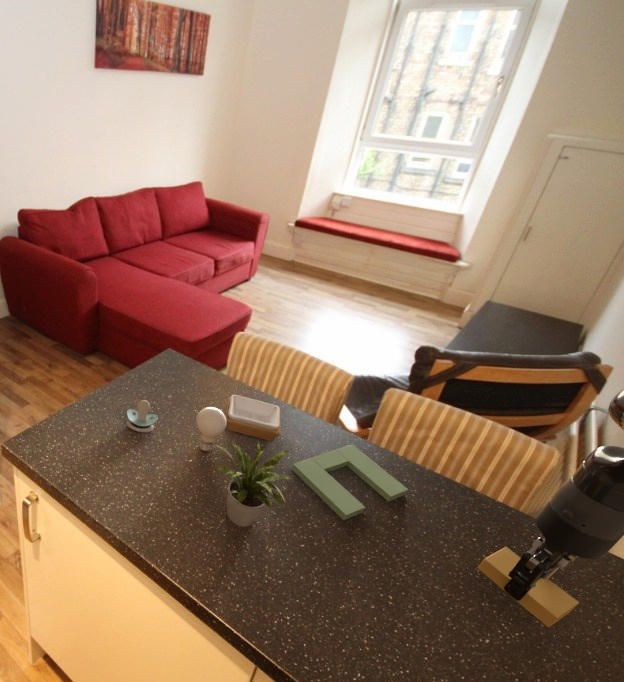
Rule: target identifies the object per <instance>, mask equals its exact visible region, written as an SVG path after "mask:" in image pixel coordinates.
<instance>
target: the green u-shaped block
mask: <svg viewBox="0 0 624 682" xmlns="http://www.w3.org/2000/svg"><path fill="white" fill-rule="evenodd" d="M344 467H347V468H348V469H349V470H351V471H352V472H353V473H354V474H355V475H357V477H359V478H360V479H361V480H362V481H363V482H364V483H366V484H367V485H368V486H369V487H370V488H372V489H373V490H374V491H375V492H376V493H377V494H379V495H380V496H381V497H382V498H383V499H384V500H386V501H387V502H388V503H389V502H391V501H393V500H396V499H398V498H401V497H403V496H405V495H407V493H408V491H409V489H408V488H407V487H406V486H405V485H404V484H402V483H401V482H400V481H398V480H397V479H396V478H395V477H393V476H392V475H391V474H390V473H389V472H387V471H386V470H385V469H384V468H382V467H381V466H380V465H378V464H377V463H376V462H375V461H374V460H373V459H371V458H370V457H369V456H367V455H366V454H365V453H363V451H361V450H360V449H359V448H357V447H356V446H355V445H354V444H349V445H346V446H344V447H339V448H337V449H334V450H330V451H327V452H325V453H322V454H318V455H316V456H313V457H310V458H307V459H304V460H301V461H297V462H295V463H293V464H292V465H291V467H290V469H291V470H292V471H293V472H294V473H295V474H296V476H298V477H299V478H300V479H301V480H302V481H303V482H304V483H305V485H307V486H308V487H309V488H310V489H311V490H312V491H313V492H314V493H315V495H317V497H319V498H320V499H321V500H322V501H323V502H324V503H325V504H326V505H327V506H328V507H329V508H330V509H331V510H332V511H333V512H334V513H335V514H336V515H338V516H339V518H340V519H341V520H342V521H346V520H349V519H350V518H352V517H355V516H358V515H360V514H362V513H364V511H365V509H366V506H364V505H363V504H362V503H361V502H360V501H359V500H358V499H357V498H356V497H355V496H354V495H353V494H351V493H350V491H348V490H347V489H346V488H345V487H344V486H343V485H341V483H339V481H337V480H336V479H335V478H334V477H333V476H332V475H330V474H329V473H330V472H333V471H336V470H339V469H341V468H344Z"/></svg>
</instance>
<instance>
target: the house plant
mask: <svg viewBox="0 0 624 682" xmlns="http://www.w3.org/2000/svg"><path fill="white" fill-rule="evenodd" d="M211 444H212V446H216V447H217V448H219V449H220V450H223V451H224V452H225V453H226V454H227V455H228V456H229V457H230V458H231V460H232V462H233V463H234V465H235V467H236V469H237V470H238V471H237V472H235V471H234V470H232V468H230V467H229V466H227V465H222V466H221V467H218V470H219V472H220V473H221V474H223V475H224V476H227V477H229V478H231V479H232V480H230V481H229V483H228V485H227V497H226V516H227V517H228V519H229V521H230V522H231V523H233V524H234V523H235V524H234V525H236V526H238V527H243V528H244V527H245V528H246V527H247V528H248V527H250V526H251V525H253V524H254V522H255V521H256V519H257V518H258V516H259V515H260V513H261V512H262V510H263V509H264V507H265V506H267V507H268V508H269V509H270V511H271V512H273V507H274V504H273V500H274V501H275V502H276V504H277V505H279V507H280V509H281V510H282V508H283V501H284V502H285V504H287V501H286V499H285V498H284V497H285V496H284V494H283V492H282V491H281V490H280V488H279V487H278V486H276V485H275V484H273V483H272V482H273V481H278V480H284V479H285V480H294V478H293V477H291V476H289V475H286V474H278V473H277V472H275V471H273V470H272V469H274V468H277V466H278V465H279V463H280V461H281V460H282V458H283V457H285V456H286V455H288V453H289V452H290V450H284V451H281V452H279V453H276V454H274V455H273V456H272V457H270V458H269V459H268V460H266V461H265V462H264V463H262V464H261V466H260V468H259V469H258V466H259V463H260V460H261V456H262V455H263V453H264V452H265V450H266V448H264V449H262V450H261V444H260V441H259V440H258V441H257V443H256V449H255V451H254V457H253V461H251V456H250V454H248V453H247V452H245V451H244V449H243V448H242V447H241V446H240V445H239V444H235V443H233V442H231V444H232V446H233V447H234V450H235V454H236V456H237V458H238V461H239V464H240V468H239V466H238V465H237V462H236V460H235V459H234V457H233V455H232V454H231V452H230V451H229V450H228V449H227V448H225V447H224V446H221V445H219V444H216V443H211ZM251 462H252V464H251ZM240 469H241V470H240ZM272 489H275V490H277V491H278V493H279V494H280V496H279V495H278V494H277V493H276V492H274V491H273V490H272ZM268 495H269V496H270V497H271V498H272V499H273V500H272V499H271V498H270V497H268ZM281 498H282V499H283V501H282V499H281Z"/></svg>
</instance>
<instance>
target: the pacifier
mask: <svg viewBox="0 0 624 682" xmlns="http://www.w3.org/2000/svg"><path fill="white" fill-rule="evenodd" d="M136 408H137V410H136V409H133V408H129V409H128V410H127V411H126V416H127V419H128V420H127V421H126V426H127V427H128V428H129V429H131V430H133V431H134V432H135V431H136V432H139V433H150V432H153V431H154V424H155V423H157V422H158V419H159V415H157V414H155V413H151V414H150V413H149V412H150V411H151V410H150V409H151V404H150V402H149V401H148V400H146V399H141V400H139V402H137V404H136ZM148 413H149V414H148ZM134 425H136V426H138V427H136V426H134ZM140 427H141V428H140ZM147 427H148V428H147Z"/></svg>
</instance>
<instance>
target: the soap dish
mask: <svg viewBox="0 0 624 682" xmlns="http://www.w3.org/2000/svg"><path fill="white" fill-rule="evenodd" d="M224 415H225V417H226V428H225V429H226V430H227V431H231V432H235V433H239V434H243V435H246V436H249V437H254V438H257V439H261V440H266V441H267V442H269V441H270V442H272V441H273V440H274V439H276V438H277V437H279V436H280V435H281V409H280V406H278V405H276V404H272V403H269V402H265V401H261V400H258V399H254V398H251V397H245V396H242V395H239V394H238V395H237V394H232V395H230V396H228V398H227V403H226V408H225V413H224Z"/></svg>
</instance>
